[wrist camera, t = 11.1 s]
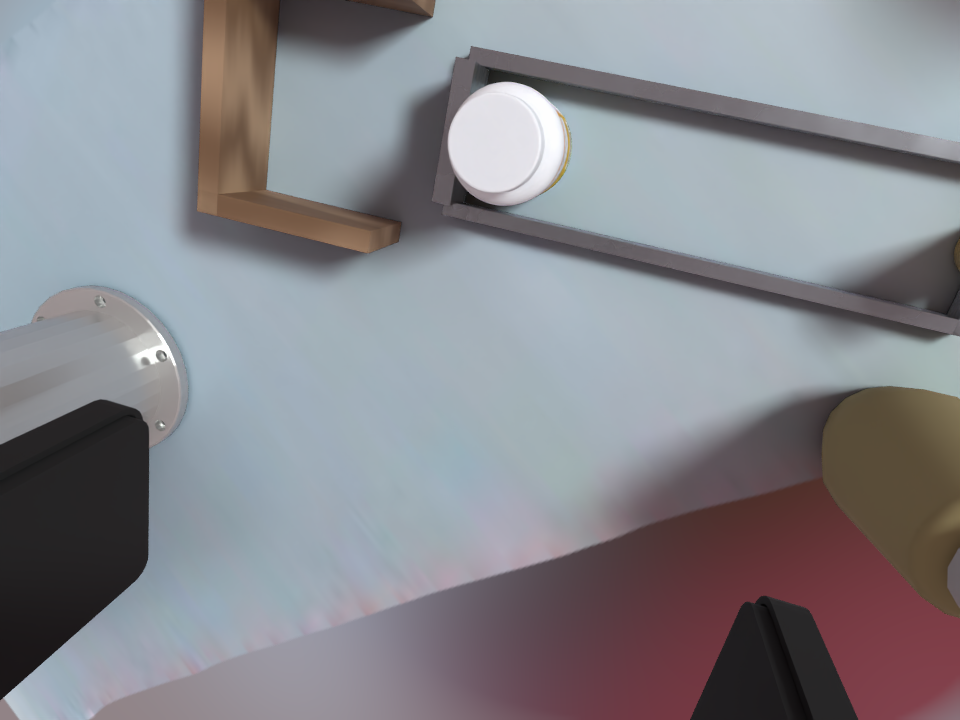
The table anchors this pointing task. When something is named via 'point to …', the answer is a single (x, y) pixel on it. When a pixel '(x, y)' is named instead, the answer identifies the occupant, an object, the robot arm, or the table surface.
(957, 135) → the table surface
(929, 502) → the squeeze bottle
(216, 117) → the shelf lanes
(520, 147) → the supplement bottle
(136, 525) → the robot arm
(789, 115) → the gray rectangular frame
